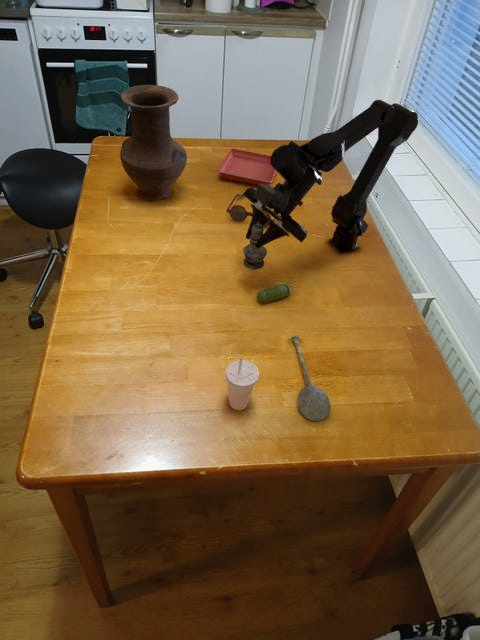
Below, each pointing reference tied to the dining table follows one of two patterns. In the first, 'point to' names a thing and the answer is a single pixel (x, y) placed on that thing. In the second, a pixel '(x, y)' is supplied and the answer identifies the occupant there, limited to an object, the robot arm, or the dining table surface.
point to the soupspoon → (311, 395)
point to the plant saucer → (247, 167)
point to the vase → (152, 142)
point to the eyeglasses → (242, 212)
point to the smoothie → (241, 382)
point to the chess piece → (254, 249)
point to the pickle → (273, 292)
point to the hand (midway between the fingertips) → (251, 242)
